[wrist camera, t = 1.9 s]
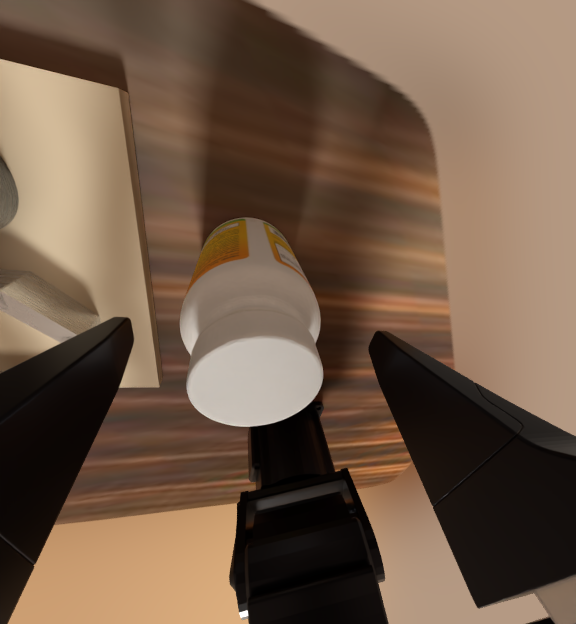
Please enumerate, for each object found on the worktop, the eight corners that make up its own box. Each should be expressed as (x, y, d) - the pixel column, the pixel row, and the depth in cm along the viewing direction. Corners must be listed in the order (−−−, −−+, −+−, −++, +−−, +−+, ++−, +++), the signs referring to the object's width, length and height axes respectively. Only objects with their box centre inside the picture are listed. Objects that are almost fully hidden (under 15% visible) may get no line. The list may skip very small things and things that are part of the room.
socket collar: (88, 276, 13) (67, 294, 11) (118, 385, 18) (105, 410, 16) (-136, 257, 11) (-202, 276, 9) (-37, 386, 15) (-70, 414, 14)
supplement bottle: (200, 294, 16) (161, 444, 8) (203, 206, 13) (147, 300, 5) (282, 302, 17) (318, 437, 9) (300, 224, 14) (376, 321, 6)
